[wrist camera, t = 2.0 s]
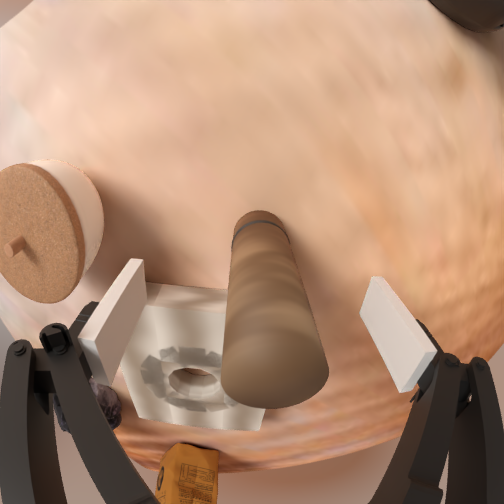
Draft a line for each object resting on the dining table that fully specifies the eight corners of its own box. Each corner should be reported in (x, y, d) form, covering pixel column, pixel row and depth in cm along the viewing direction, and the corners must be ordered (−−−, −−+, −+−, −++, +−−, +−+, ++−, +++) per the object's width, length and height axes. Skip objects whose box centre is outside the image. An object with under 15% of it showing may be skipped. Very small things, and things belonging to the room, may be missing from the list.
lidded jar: (139, 174, 21) (79, 209, 12) (108, 276, 25) (63, 340, 16) (46, 134, 18) (-27, 152, 10) (29, 233, 22) (-27, 276, 14)
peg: (287, 208, 22) (344, 342, 9) (279, 254, 24) (314, 408, 10) (235, 203, 22) (220, 338, 8) (231, 250, 24) (218, 407, 10)
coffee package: (153, 451, 43) (139, 542, 23) (177, 435, 38) (162, 548, 19) (197, 465, 45) (191, 552, 25) (227, 450, 41) (225, 555, 21)
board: (283, 294, 26) (288, 317, 23) (258, 410, 34) (259, 430, 31) (116, 278, 25) (102, 298, 22) (144, 398, 33) (139, 417, 30)
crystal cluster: (90, 412, 38) (81, 457, 29) (36, 367, 32) (17, 415, 23) (143, 403, 37) (137, 457, 28) (83, 351, 30) (63, 412, 22)
